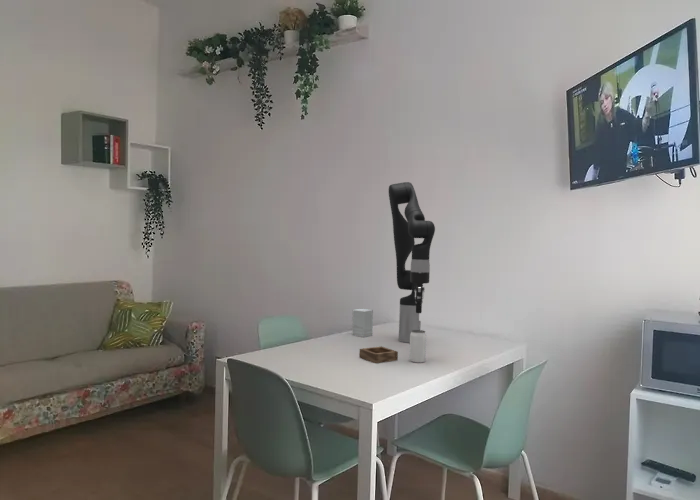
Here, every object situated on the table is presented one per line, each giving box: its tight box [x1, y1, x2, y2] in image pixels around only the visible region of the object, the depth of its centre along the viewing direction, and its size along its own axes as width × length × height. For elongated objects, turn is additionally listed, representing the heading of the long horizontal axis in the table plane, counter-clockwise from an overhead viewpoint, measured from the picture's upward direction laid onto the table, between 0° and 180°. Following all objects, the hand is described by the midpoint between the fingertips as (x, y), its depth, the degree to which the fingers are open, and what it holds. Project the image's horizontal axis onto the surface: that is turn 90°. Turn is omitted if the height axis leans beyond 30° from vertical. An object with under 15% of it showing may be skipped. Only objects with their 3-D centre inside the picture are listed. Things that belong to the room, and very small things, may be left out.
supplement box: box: [351, 308, 374, 338], centre depth 273 cm, size 7×7×13 cm
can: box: [408, 329, 427, 364], centre depth 223 cm, size 6×6×12 cm
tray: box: [358, 345, 399, 364], centre depth 225 cm, size 11×11×4 cm
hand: (418, 311), depth 222 cm, fingers open, 8 cm apart
